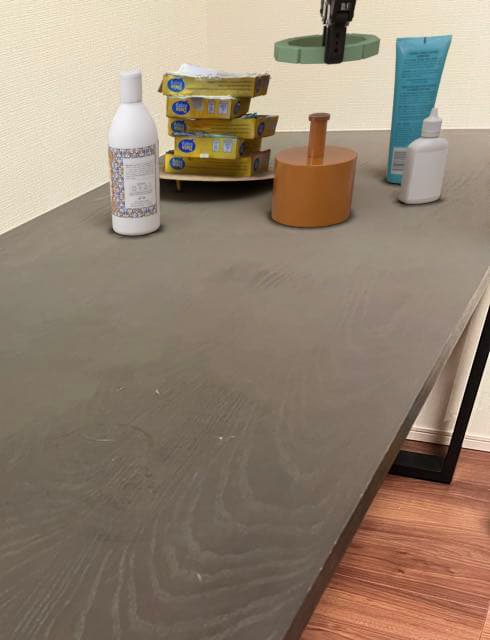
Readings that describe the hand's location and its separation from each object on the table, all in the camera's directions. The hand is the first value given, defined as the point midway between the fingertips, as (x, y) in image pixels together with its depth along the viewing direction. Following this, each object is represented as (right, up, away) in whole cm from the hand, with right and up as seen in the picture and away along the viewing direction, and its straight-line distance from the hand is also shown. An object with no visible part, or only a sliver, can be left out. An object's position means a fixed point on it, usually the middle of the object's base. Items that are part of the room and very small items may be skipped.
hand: (331, 61), depth 97 cm
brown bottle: (+2, -12, +17) cm, 21 cm away
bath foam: (-23, -13, +19) cm, 32 cm away
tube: (+19, -2, +27) cm, 33 cm away
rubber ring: (0, +3, +4) cm, 6 cm away
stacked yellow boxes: (-10, 0, +34) cm, 36 cm away
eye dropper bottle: (+18, -9, +18) cm, 28 cm away
